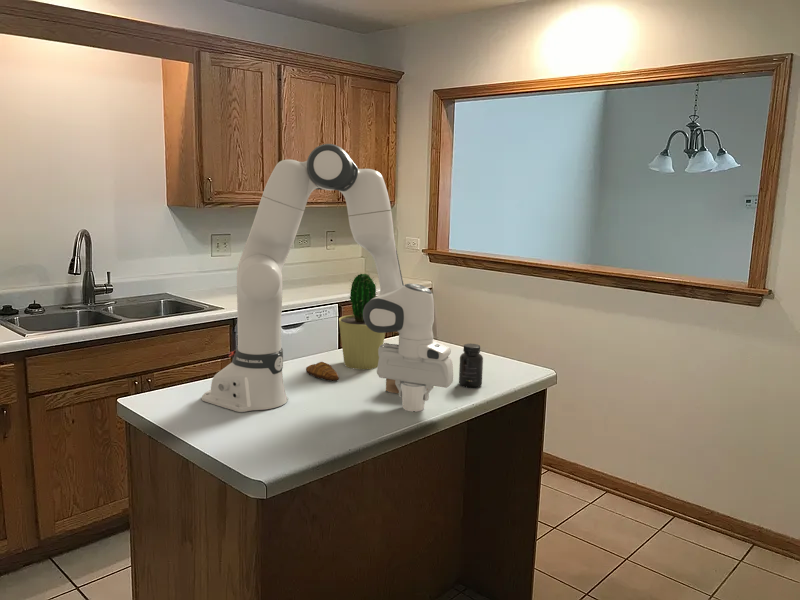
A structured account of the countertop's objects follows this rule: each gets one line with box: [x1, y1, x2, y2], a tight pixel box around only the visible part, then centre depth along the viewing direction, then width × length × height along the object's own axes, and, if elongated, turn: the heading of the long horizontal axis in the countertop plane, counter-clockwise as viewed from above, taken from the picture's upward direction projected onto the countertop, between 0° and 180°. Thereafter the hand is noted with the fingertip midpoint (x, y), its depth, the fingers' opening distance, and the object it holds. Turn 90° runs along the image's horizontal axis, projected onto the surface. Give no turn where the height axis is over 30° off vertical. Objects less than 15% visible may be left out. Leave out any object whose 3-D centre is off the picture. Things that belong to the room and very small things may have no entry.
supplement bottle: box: [458, 343, 484, 389], centre depth 191 cm, size 7×7×12 cm
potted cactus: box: [338, 272, 386, 370], centre depth 206 cm, size 15×15×30 cm
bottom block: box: [385, 378, 428, 394], centre depth 186 cm, size 10×10×5 cm
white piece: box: [401, 381, 427, 413], centre depth 171 cm, size 7×7×7 cm
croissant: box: [305, 361, 339, 382], centre depth 194 cm, size 14×7×5 cm, turn 48°
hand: (413, 398), depth 171 cm, fingers closed on white piece, 5 cm apart
